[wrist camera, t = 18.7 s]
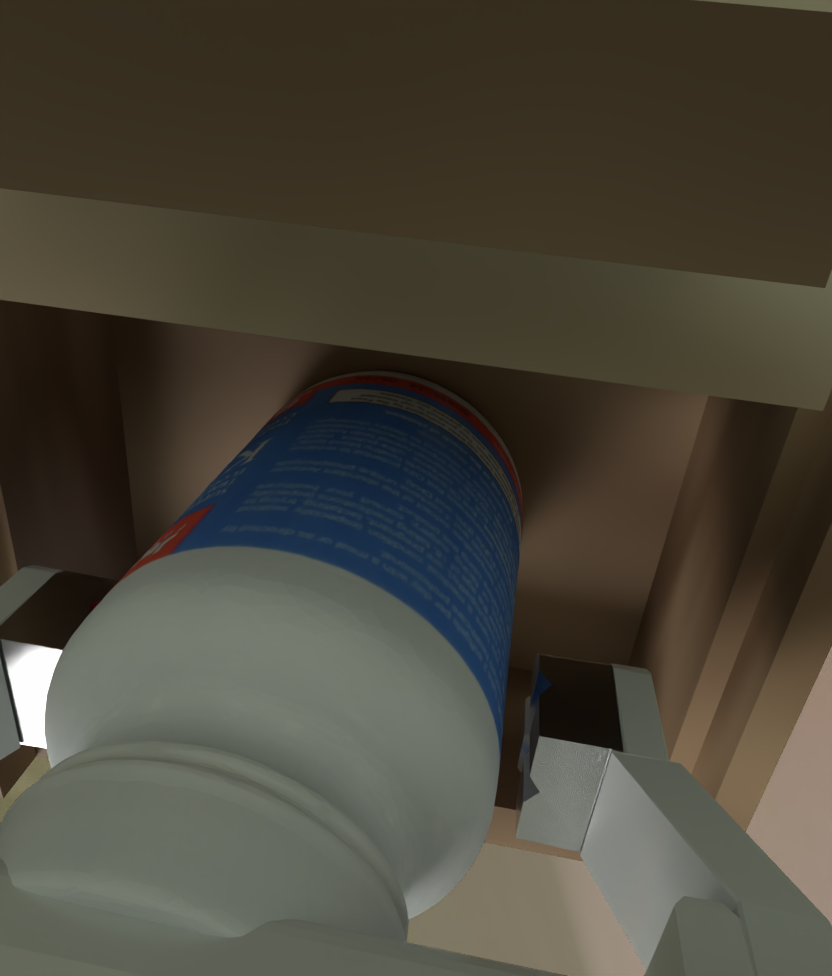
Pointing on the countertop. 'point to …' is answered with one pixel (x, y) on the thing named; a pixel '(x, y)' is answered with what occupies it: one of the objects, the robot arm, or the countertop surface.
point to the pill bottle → (293, 681)
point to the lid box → (546, 514)
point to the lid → (437, 179)
